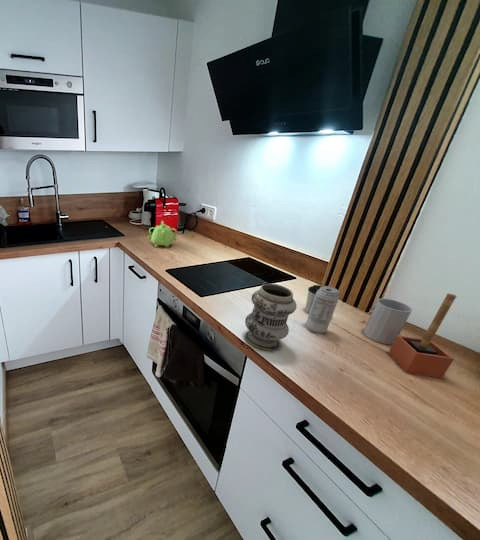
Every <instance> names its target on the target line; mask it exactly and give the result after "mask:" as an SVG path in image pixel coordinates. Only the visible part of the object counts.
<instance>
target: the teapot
mask: <svg viewBox="0 0 480 540" xmlns="http://www.w3.org/2000/svg"><path fill="white" fill-rule="evenodd" d="M152 230H153V231H152ZM151 231H152V232H151ZM173 231H174V233H173ZM148 233H149V235H148V236H147V239H148V240H151V242H152V244H154V247H159V246H164V247H165V248H170V245H171V244H172V243H173V242H175V241H177V233H178V231H177V229H176V228H171V227H170V226H169V225H167V224H166V223H165V222H164V220H161V221H160V225H155V226H152V227H150V228H149V229H148Z"/></svg>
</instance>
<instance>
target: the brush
mask: <svg viewBox="0 0 480 540" xmlns="http://www.w3.org/2000/svg"><path fill="white" fill-rule="evenodd" d="M457 296H458V295H456V294H453V293H447V294H446V296H445V297H444V299H443V301H442V302H441V305H440V306H439V308H438V310H437V312H436V314H435V315H434V317H433V319H432V321H431V322H430V324H429V326H428V328H427V330H426V331H425V333H424V335H423V337H422V338H421V339H422V341H421V342H414V341H409V343H408V344H409V345H410V346H411V347H412V348H413V349H415V350H416V351H417V352H419V353H425V354H432V355H436V354H437V352H436V351H435V350H434V349H433V348H432V347H430V346H429V344H430V342H431V341H432V340H433V338H434V337H435V335H436V333H437V332H438V330H439V328H440V327H441V324H442V323H443V321H444V320H445V318H446V316H447V314H448V312H449V310H450V309H451V307H452V306H453V303H454V302H455V300H456V298H457Z"/></svg>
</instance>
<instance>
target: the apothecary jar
mask: <svg viewBox="0 0 480 540" xmlns="http://www.w3.org/2000/svg"><path fill="white" fill-rule="evenodd" d="M251 303H252V304H253V308H252V310H251V312H250V313H248V314H247V316H246V317H245V320H244V324H245V327H246V328H247V330H248V331H247V332H246V333H245V334H244V335H245V336H244V337H245V340H246V341H247V342H248V343H249V344H250V345H251V346H253V347H255V348H256V349H260V350H263V351H268V352H269V351H270V352H271V351H273V350H278V349H279V348H280V346H281V343H280V340H282V339H285V338H286V337H288V334H289V333H290V329H289V325H288V324H287V323H288V318H289V316H290V315H292V314H293V313H295V311H296V310H297V303H296V300H295V299H294V292H293V291H292V290H291V289H289V288H288V287H286V286H284V285H282V284H281V285H280V284H278V283H263V284H261V286H260V288H259V289H258V290H256V291H254V292H253V293H252V295H251Z"/></svg>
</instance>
